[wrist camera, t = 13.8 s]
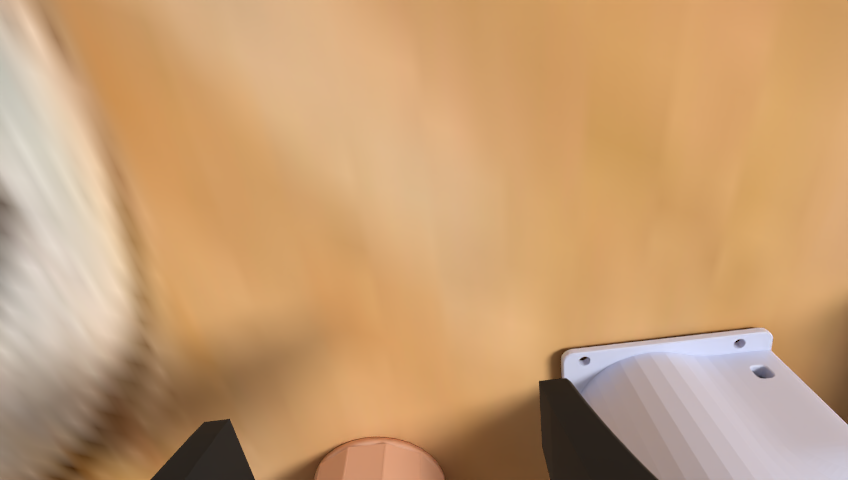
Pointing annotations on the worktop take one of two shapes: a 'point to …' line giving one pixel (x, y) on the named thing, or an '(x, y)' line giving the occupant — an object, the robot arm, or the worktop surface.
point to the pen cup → (378, 461)
